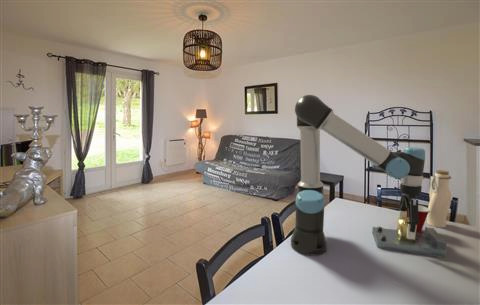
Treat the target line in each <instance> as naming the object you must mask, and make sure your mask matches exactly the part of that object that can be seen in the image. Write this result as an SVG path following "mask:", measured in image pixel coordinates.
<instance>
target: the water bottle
mask: <svg viewBox="0 0 480 305" xmlns="http://www.w3.org/2000/svg"><path fill="white" fill-rule="evenodd" d="M451 179H452V177H451V176H450V172H449V171H448V170H443V169H437V170H435V173H434V174H433V176H430V181H429V182H430V183H429V184H430V185H429V189H428V190H429V193H428V194H429V203H428V207H427V208H429V209H430V212H429V213H428V215H427V217H426V223H427V225H430V226H432V227H436V228H446V227H447V217H448V213H449V210H450V207H451V202H452V192H451V189H450V187H449V185H450V180H451Z"/></svg>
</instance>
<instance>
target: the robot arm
mask: <svg viewBox="0 0 480 305" xmlns="http://www.w3.org/2000/svg"><path fill="white" fill-rule="evenodd" d="M294 113H295V116H296V127H297V129H299V131H300V133H299V134H300V181H299V182H298V183H297V194H296V196H295V223H294V224H295V226H294V229H293V232H292V235H291V237H290V246H291V248H292V249H293V250H294V251H295V252H298V253H300V254H302V255H303V254H304V255H308V256H319V255H322V254H324V253H325V252H326V251H327V249H328V242H327V238H326V236H325V232H324V225H325V224H324V221H325V220H324V219H325V206H326V201H325V200H326V199H325V195H324V183H323V182H322V181H321V146H320V145H321V144H320V143H321V141H320V140H321V138H320V136H321V135H320V134H321V130H322V131H324V132H325V133H327V134H328V135H329V136H331V137H332V138H334V139H336V140H337V141H339V142H340V143H341V144H343V145H345V146H346V147H347V148H349V149H351V150H352V151H353V152H355V153H356V154H358V155H360V156H361V157H363V158H364V159H365V160H367V161H368V162H370V166H371V167H372V168H373V169H377V170H381V171H383V172H384V173H386V174H387V175H388V176H390V178H394V179H399V180H400V182H401V183H400V184H399V185H400V187H399V192H400V193H401V196H400V200H399V203H398V208H399V215H398V218H400V217H407V211H408V215H409V222H407V224H408V230H407V238H408V239H415V234H416V225H419V215H418V205H419V199H417V198H416V196H420V195H422V187H423V186H422V185H423V180H424V179H425V177H424V170H425V164H426V150H425V149H424V148H422V147H417V146H416V147H413V146H410V147H408V146H407V147H403V151H391V150H390V149H388V148H387V147H385V146H384V145H382V144H381V143H379V142H378V141H376V140H374V139H373V138H371V137H370V136H368V135H367V134H365V132H362V131H361V130H360V129H358V128H357V127H355V126H354V125H352V124H350V123H349V122H348V121H345V119H343V118H341V117H339V116H338V115H337V114H335V112H334V109H332V108H331V107H329V106H328V105H326V103H324V101H322V100H321V99H320V97H318V96H316V95H314V94H305V95H304V96H301V97H300V98H299V99H298V100H297V102H296V103H295V106H294ZM414 221H415V222H414Z"/></svg>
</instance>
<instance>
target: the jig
mask: <svg viewBox="0 0 480 305" xmlns="http://www.w3.org/2000/svg"><path fill="white" fill-rule="evenodd" d="M371 231H372V235H373V239H374V243H375V245H376V248H379V249H386V250H391V251H399V252H406V253H413V254H419V255H420V254H421V255H425V256H427V255H428V256H434V257H439V258H440V257H441V258H446V253H447V242H446V241H445V240H444V238H443V237H442V236H441V234H439V233H438V232H437V231H436V230H435V229H434V227H427V226H425V227H424V233H423V232H416V237H415V241H412V242H410V241H404V240H400V239H399V238H398V237H397V229H393V228H384V227H382V226H377V227H375V226H372V230H371Z"/></svg>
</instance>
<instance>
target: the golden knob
mask: <svg viewBox="0 0 480 305" xmlns="http://www.w3.org/2000/svg"><path fill="white" fill-rule="evenodd" d="M407 222H409V218H407V217H400V218H399V217H398V219H397V228H396V230H397V237H398V238H399V239H400V240H404V241H410V242H412V241H415V239H408V238H407V230H408V224H407ZM414 222H415V221H414ZM416 228H417V225H416ZM415 237H416V234H415Z"/></svg>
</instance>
